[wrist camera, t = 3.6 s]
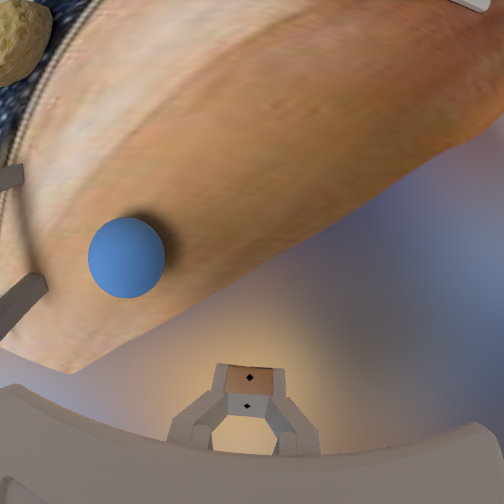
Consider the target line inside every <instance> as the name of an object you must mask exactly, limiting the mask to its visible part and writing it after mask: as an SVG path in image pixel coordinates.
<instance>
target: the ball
mask: <svg viewBox="0 0 504 504" xmlns="http://www.w3.org/2000/svg"><path fill="white" fill-rule="evenodd" d="M88 263H89V268H90V272H91V274H92V276H93V278H94V280H95V281H96V283H97V284H98V285H99V286H100V287H101V288H102V289H103V290H104V291H105V292H107V293H109V294H110V295H113V296H115V297H119V298H134V297H138V296H141V295H143V294H145V293H147V292H148V291H149V290H151V289H152V288H153V287H154V286H155V285H156V283H157V282H158V280H159V279H160V277H161V275H162V273H163V269H164V265H165V252H164V247H163V244H162V241H161V239H160V237H159V235H158V234H157V232H156V231H155V230H154V229H153V228H152V227H151V226H150V225H148V224H147V223H145V222H143V221H141V220H139V219H135V218H130V217H123V218H117V219H114V220H111V221H110V222H108V223H106V224H105V225H103V226H102V227H101V228H100V229H99V230H98V231H97V233H96V234H95V235H94V237H93V239H92V241H91V244H90V247H89V252H88Z"/></svg>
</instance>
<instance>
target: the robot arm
mask: <svg viewBox="0 0 504 504" xmlns="http://www.w3.org/2000/svg"><path fill="white" fill-rule="evenodd" d="M451 1H454V2H456V3H459V4H461V5H463V6H466V7H468V8H470V9H472V10H475V11H477V12H479V13H483V12H485V11H486V10H487V9H488V8H489V6H490V2H491V0H451ZM227 415H237V416H249V417H261V418H265V420H266V421H267V423H268V425H269V426H270V428H271V429H272V431H273V432H274V434H275V436H276V437H277V439H278V440H277V443H276V446H275V448H274V451H273V454H272V455H255V454H242V453H231V452H222V451H214V450H213V444H212V435H211V433H212V432H213V431H214V430H215V428H216V427H217V426H218V425H219V424H220V423H221V422H222V421H223V420H224V419H225V418H226V417H227ZM0 504H504V460H503V457H502V453H501V450H500V448H499V444H498V442H497V440H496V438H495V436H494V434H493V433H491V432H490V431H489V430H488V429H486V428H485V427H483V426H482V425H480V424H478V423H476V422H472V423H469V424H466V425H463V426H461V427H458V428H455V429H452V430H449V431H446V432H443V433H440V434H436V435H433V436H429V437H426V438H422V439H419V440H414V441H410V442H406V443H402V444H397V445H392V446H387V447H382V448H376V449H369V450H363V451H355V452H346V453H337V454H323V455H321V452H320V442H319V432H318V430H317V429H316V428H315V427H314V426H313V424H312V423H311V422H310V421H309V420H308V419H307V417H306V416H305V415H304V414H303V413H302V412H301V411H300V409H299V408H298V407H297V406H296V405H295V404H294V402H293V401H292V400H291V399H290V398H289V397H286V386H285V370H284V369H279V368H264V367H246V366H238V365H230V364H229V365H228V364H221V363H217V365H216V369H215V373H214V378H213V383H212V388H211V391H209V390H208V391H207V392H205V393H204V394H203V395H202V396H200V397H199V398H198V399H197V400H196V401H194V402H193V403H192V404H191V405H189V406H188V407H187V408H186V409H184V410H183V411H182V412H181V413H179V414H178V415H177V416H176V417H175V418H173V420H172V423H171V427H170V430H169V434H168V437H167V441H166V442H165V441H160V440H156V439H153V438H148V437H145V436H141V435H138V434H134V433H131V432H127V431H124V430H121V429H118V428H115V427H112V426H109V425H106V424H104V423H101V422H98V421H95V420H93V419H90V418H88V417H85V416H83V415H80V414H78V413H76V412H73V411H71V410H68V409H66V408H64V407H62V406H60V405H58V404H56V403H53V402H52V401H50V400H48V399H46V398H44V397H42V396H40V395H38V394H36V393H34V392H32V391H31V390H29V389H27V388H25V387H24V386H22V385H20V384H12V385H9V386H6V387H4V388H1V389H0Z"/></svg>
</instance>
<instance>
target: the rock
mask: <svg viewBox="0 0 504 504" xmlns="http://www.w3.org/2000/svg"><path fill="white" fill-rule="evenodd" d="M52 25H53V19H52V16H51V13H50V9H49V8H48V7H46V6H43V5H41V4H38V3H35V2H31V1H26V0H8V1H6V2H3V3H1V4H0V87H3V86H4V87H6V86H9V85H11V84H12V83H14V82H17V81H20V80H21V79H23V78H26V77H27V76H28V75H29V74H30V73H31V72H32V71H33V70H34V69H35V67H36V66H37V64H38V63H39V61H40V60H41V58H42V56H43V54H44V51H45V49H46V46H47V43H48V41H49V39H50V35H51V30H52V29H51V27H52Z"/></svg>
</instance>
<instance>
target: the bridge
mask: <svg viewBox="0 0 504 504" xmlns="http://www.w3.org/2000/svg"><path fill="white" fill-rule="evenodd" d="M21 183H24V175H23V164H17V165H12V166H8V167H5V168H2V169H0V193H1V192H3V191H5V190H7V189H10V188H12V187H14V186H17V185H19V184H21ZM47 291H48V288H47V285H46V282H45V279H44V276H41V275H37V274H33V273H28V274H27V275H26V276H25V277H23V278H22V279H21V280H20V281H19V282H18V283H17V284H15V285H14V286H13V287H12V288H11V289H10V290H9V291H8V292H6V293H5V294H4V295H3V296H2V297H1V298H0V341H1V340H2V339H3V338H4V337H5V336H6V334H7V333H8V332H9V331H10V330H11V329H12V328H13V327H14V326H15V324H16V323H17V322H18V321H19V320H20V319H21V318H22V317H23V316H24V315H25V314H26V313H27V312H28V311H29V310H30V308H31V307H32V306H33V305H34V304H35V303H36V302H37V301H38V300H39V299H40V298H41V297H42V296H43V295H44V294H45V293H46V292H47Z"/></svg>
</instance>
